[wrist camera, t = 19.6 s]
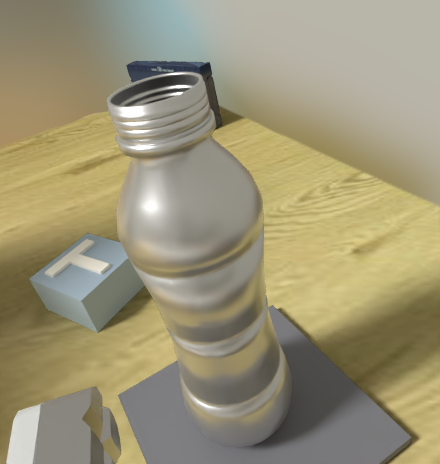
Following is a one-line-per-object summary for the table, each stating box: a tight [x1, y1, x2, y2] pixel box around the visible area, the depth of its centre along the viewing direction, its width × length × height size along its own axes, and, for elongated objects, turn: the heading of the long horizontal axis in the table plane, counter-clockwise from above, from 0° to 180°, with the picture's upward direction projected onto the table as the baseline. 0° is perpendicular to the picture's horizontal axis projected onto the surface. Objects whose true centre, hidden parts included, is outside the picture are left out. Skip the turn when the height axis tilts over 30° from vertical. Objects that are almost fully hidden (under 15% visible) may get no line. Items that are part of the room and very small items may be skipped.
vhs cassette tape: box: [127, 61, 222, 129], centre depth 70 cm, size 18×3×10 cm, turn 46°
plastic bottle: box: [107, 72, 292, 448], centre depth 21 cm, size 6×7×20 cm
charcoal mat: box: [118, 305, 412, 464], centre depth 26 cm, size 13×13×1 cm
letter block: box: [29, 233, 145, 333], centre depth 38 cm, size 7×7×4 cm
